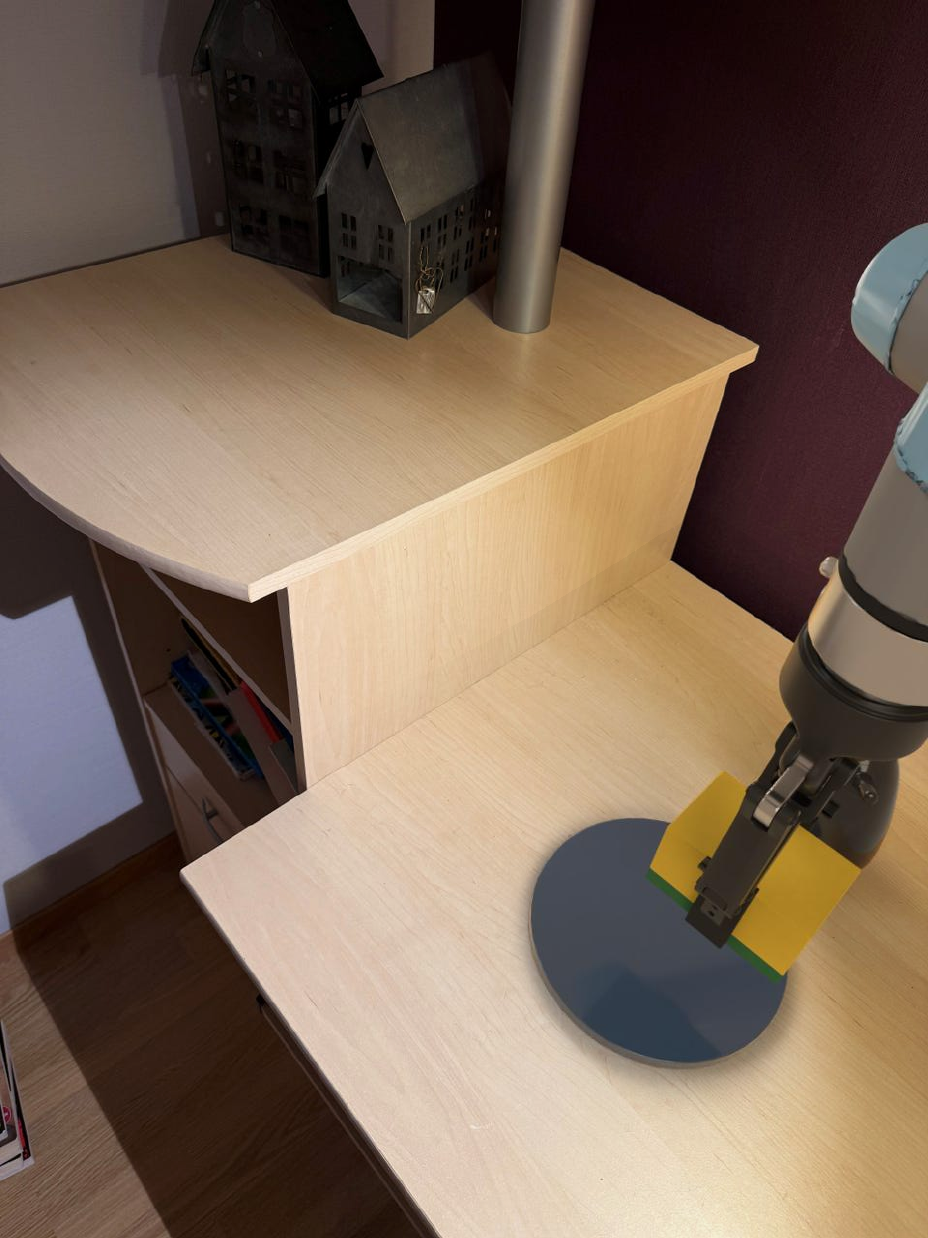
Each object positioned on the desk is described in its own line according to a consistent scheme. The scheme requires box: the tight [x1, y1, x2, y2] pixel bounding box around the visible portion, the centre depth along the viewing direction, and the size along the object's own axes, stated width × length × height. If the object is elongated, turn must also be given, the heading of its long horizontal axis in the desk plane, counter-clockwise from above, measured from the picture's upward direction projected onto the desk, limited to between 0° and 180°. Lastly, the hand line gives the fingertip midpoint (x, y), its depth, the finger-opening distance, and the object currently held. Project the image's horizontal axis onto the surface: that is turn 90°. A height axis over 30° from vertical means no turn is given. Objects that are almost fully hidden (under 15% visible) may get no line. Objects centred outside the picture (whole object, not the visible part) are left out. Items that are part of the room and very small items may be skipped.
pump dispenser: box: [778, 759, 901, 870], centre depth 73 cm, size 10×10×15 cm
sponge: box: [645, 770, 862, 984], centre depth 58 cm, size 10×6×6 cm, turn 46°
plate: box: [528, 817, 789, 1070], centre depth 71 cm, size 20×20×1 cm
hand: (735, 895), depth 59 cm, fingers closed on sponge, 6 cm apart
